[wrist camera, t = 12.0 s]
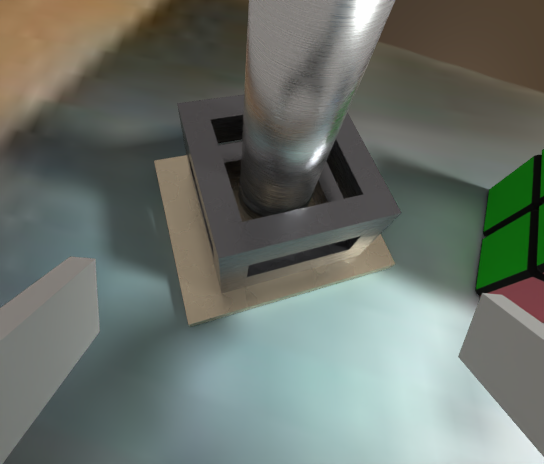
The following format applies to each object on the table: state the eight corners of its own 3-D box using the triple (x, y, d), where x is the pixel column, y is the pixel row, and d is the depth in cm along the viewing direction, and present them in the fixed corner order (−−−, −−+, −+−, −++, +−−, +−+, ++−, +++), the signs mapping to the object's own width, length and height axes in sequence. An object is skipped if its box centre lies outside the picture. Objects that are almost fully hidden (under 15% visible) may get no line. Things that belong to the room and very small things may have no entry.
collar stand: (327, 137, 27) (355, 65, 21) (390, 268, 23) (449, 224, 17) (156, 167, 24) (131, 92, 18) (189, 327, 19) (171, 299, 13)
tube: (289, 179, 24) (380, -133, 10) (311, 232, 22) (459, -50, 8) (230, 191, 23) (231, -138, 8) (248, 248, 21) (287, -45, 7)
